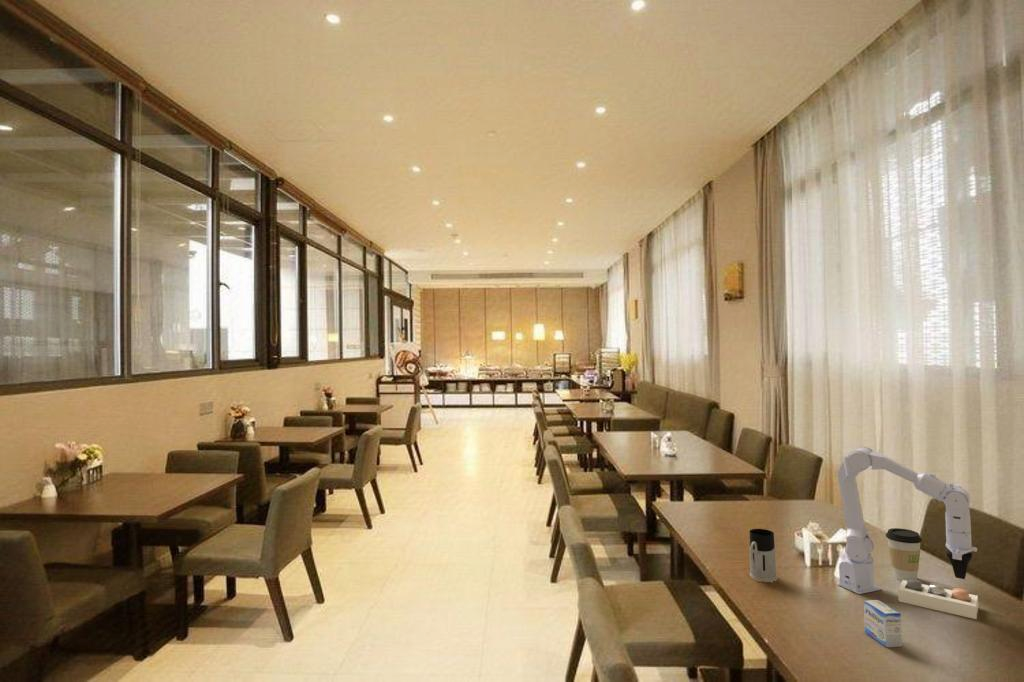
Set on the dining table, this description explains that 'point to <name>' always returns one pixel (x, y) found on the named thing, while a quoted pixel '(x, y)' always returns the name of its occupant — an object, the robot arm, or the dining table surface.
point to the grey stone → (914, 584)
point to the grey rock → (937, 589)
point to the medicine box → (882, 623)
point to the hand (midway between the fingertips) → (960, 577)
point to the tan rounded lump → (960, 594)
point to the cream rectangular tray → (939, 601)
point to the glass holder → (762, 555)
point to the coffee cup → (904, 552)
